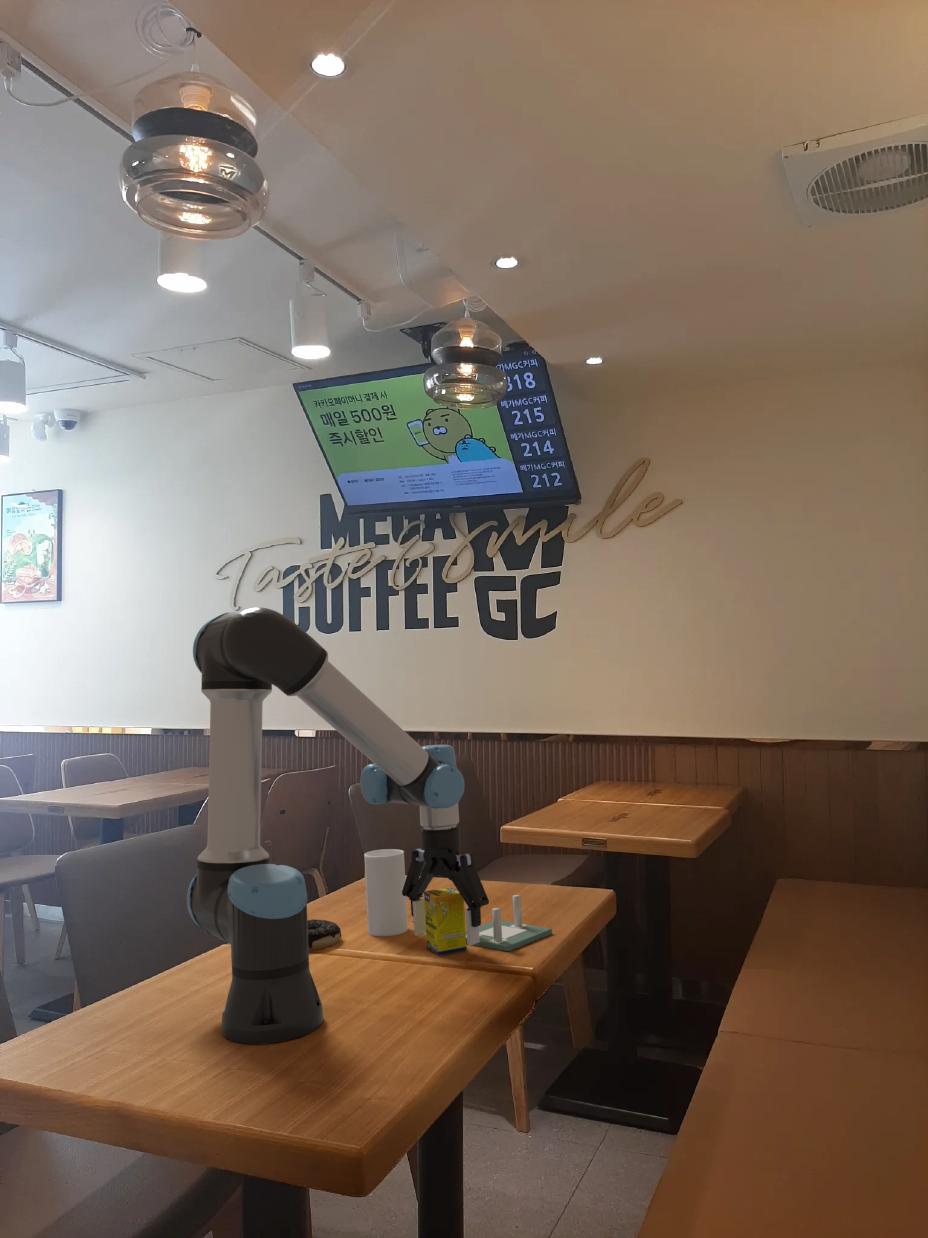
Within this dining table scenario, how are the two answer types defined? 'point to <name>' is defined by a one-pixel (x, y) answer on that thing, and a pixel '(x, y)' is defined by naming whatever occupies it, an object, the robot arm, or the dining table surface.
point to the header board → (509, 930)
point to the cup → (385, 892)
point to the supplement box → (445, 921)
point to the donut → (322, 934)
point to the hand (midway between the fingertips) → (446, 939)
